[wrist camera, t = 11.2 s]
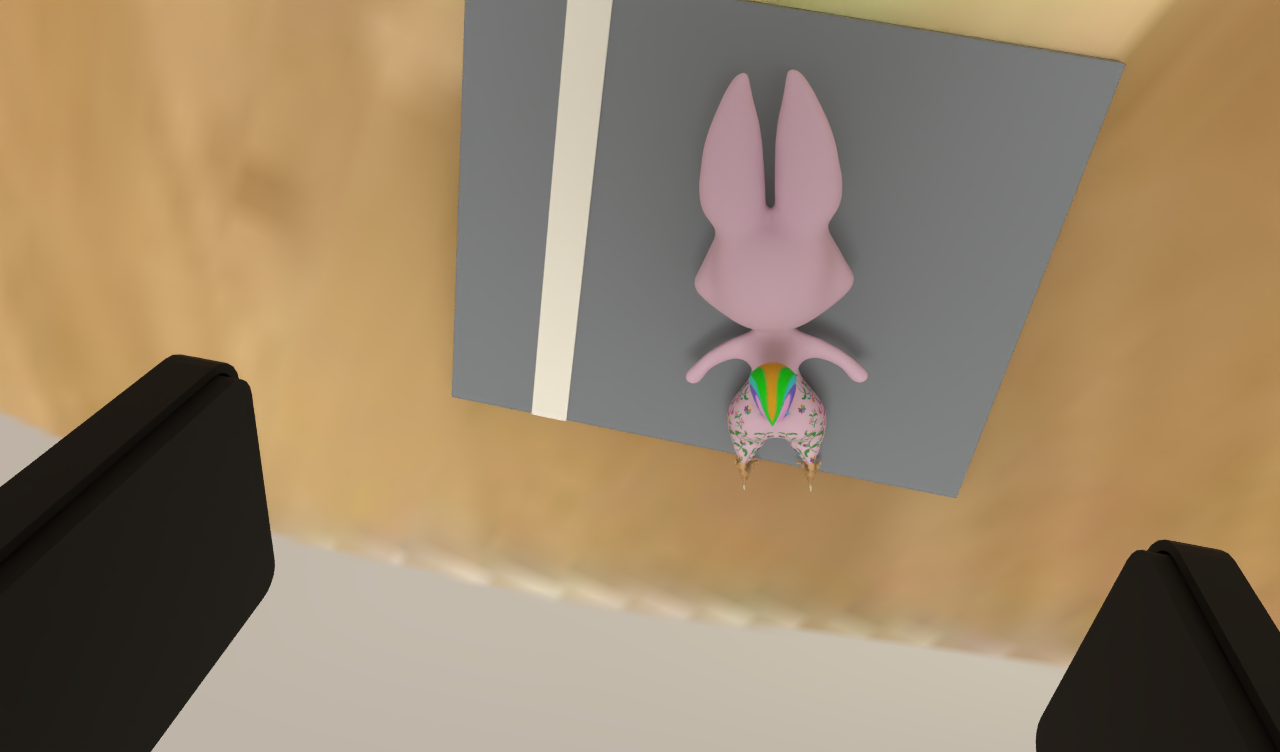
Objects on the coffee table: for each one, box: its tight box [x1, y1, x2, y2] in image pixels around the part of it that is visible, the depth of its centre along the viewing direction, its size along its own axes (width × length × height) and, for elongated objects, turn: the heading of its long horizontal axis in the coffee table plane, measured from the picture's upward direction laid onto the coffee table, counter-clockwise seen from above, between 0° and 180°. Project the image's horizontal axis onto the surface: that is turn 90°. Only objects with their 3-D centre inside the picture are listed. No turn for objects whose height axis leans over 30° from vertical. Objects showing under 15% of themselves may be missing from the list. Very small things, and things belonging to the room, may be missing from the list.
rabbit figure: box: [685, 70, 868, 492], centre depth 28 cm, size 6×6×15 cm
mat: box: [452, 0, 1126, 498], centre depth 30 cm, size 16×20×1 cm
